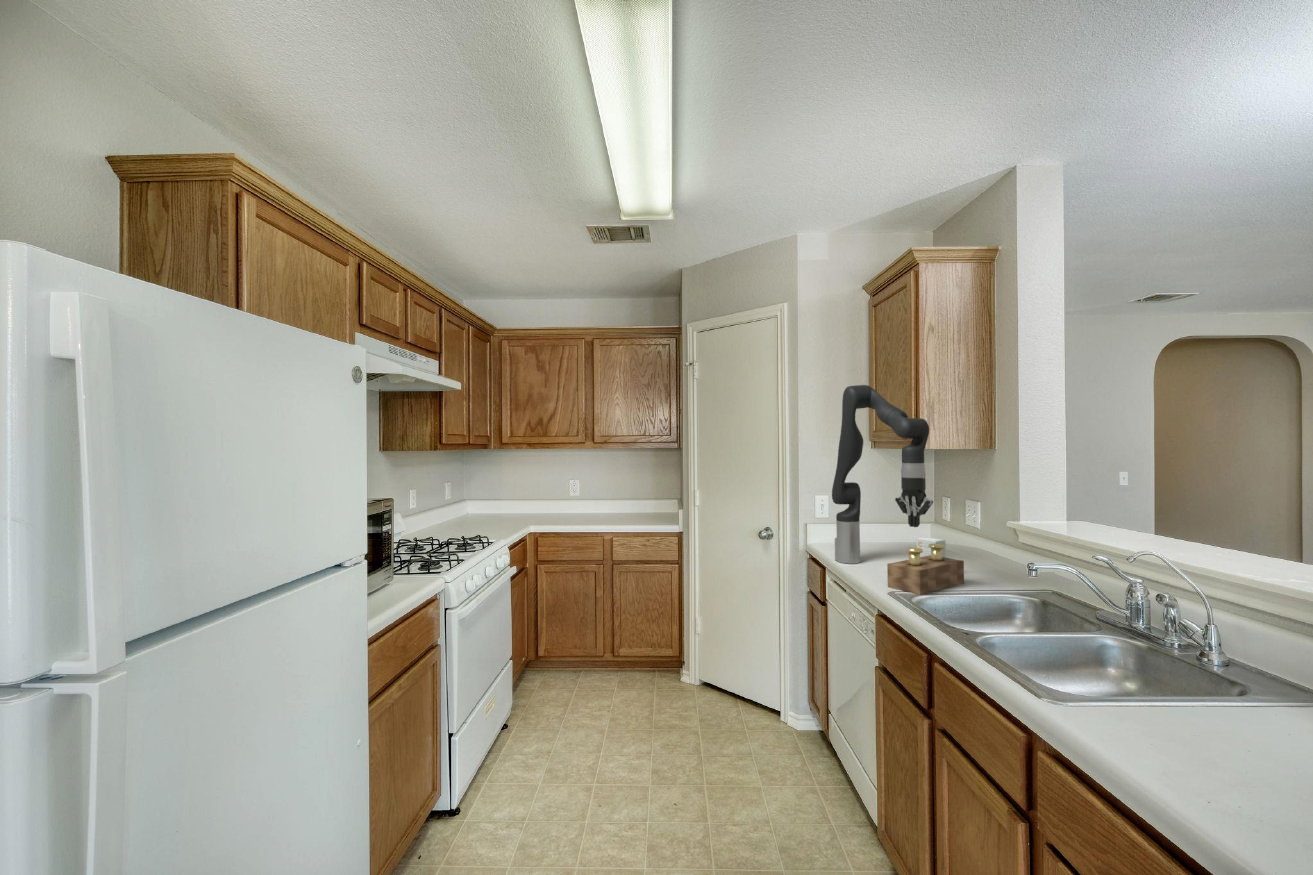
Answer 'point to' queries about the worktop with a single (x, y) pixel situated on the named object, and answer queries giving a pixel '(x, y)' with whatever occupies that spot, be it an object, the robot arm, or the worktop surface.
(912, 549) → the plunger
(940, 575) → the socket block
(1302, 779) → the worktop surface
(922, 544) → the small box
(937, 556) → the plunger
